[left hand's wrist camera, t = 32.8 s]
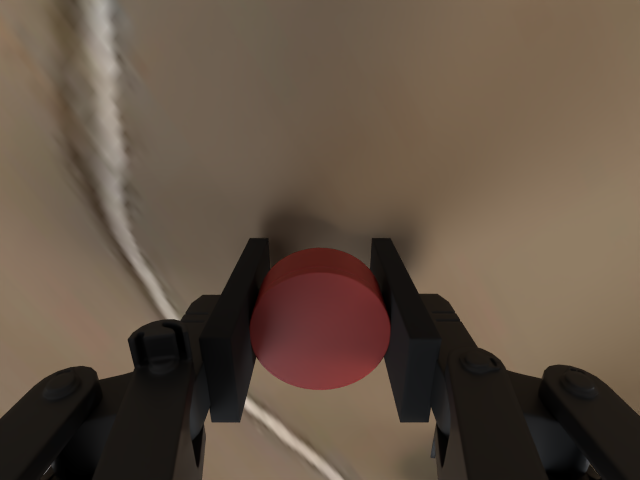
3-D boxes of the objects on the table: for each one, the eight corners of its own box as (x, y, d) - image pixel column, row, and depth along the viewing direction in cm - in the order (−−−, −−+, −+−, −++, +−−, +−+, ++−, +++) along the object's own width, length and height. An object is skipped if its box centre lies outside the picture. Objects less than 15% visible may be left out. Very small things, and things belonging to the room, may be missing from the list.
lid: (406, 300, 12) (420, 333, 11) (322, 371, 13) (322, 410, 12) (316, 220, 11) (316, 242, 9) (233, 305, 12) (220, 338, 11)
